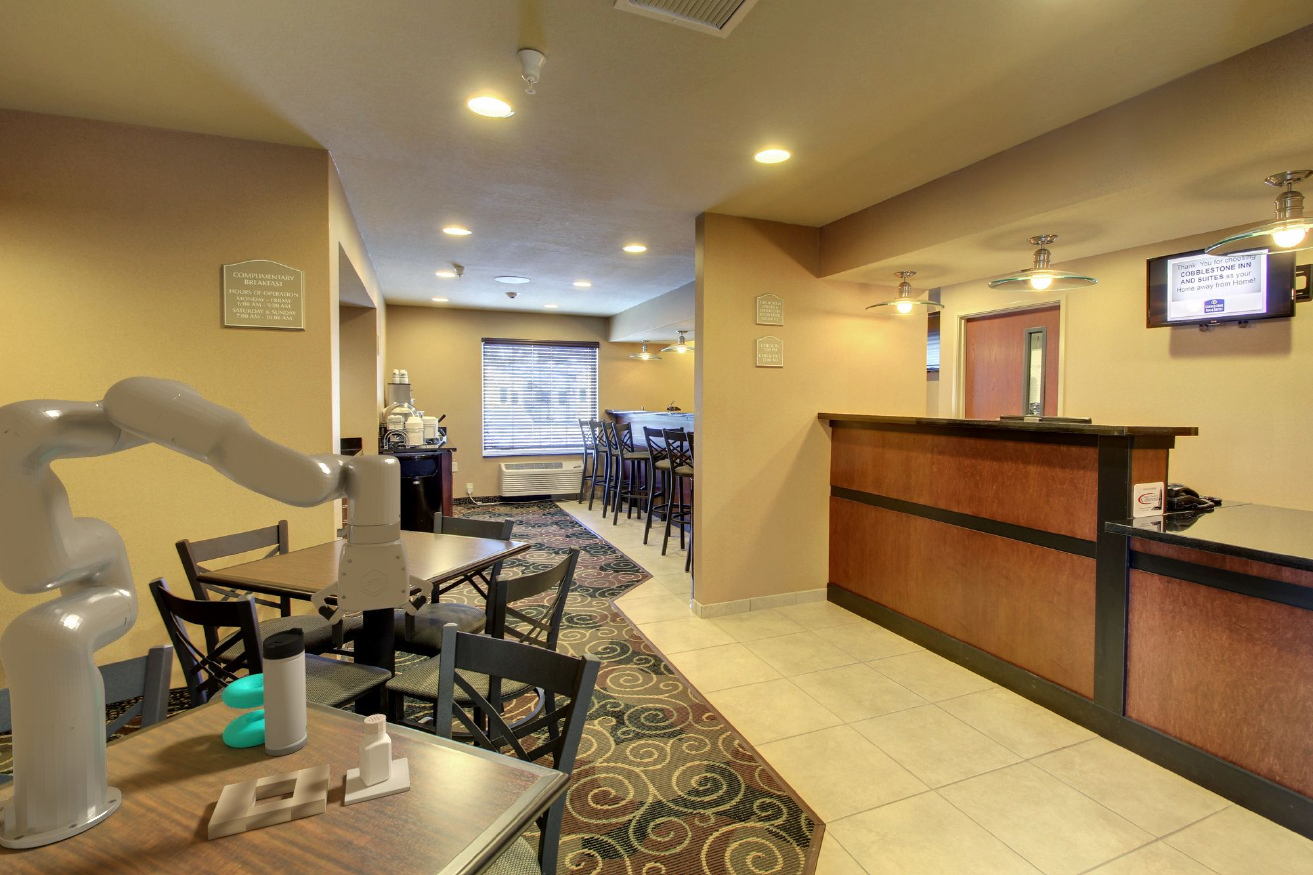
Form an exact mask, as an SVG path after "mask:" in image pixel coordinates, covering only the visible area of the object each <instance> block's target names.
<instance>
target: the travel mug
mask: <svg viewBox="0 0 1313 875" xmlns="http://www.w3.org/2000/svg"><path fill="white" fill-rule="evenodd" d="M305 650H306V649H305V632H304V631H303V628H302V627H292V628H290V629H287V630H281V631H278V632H275V633H273V634H270V635H269V636H267V637H266V638H264V639H263V641H262V673H263V688H264V705H263V709H264V723H265V743H264V749H265V750H264V751H265V753H266V754H267V755H269V756H272V757H273V756H274V757H278V756H279V757H280V756H286V755H290V754H293V753H295V752H297V751H299V750H301V749H302V748H303V747H305V746H306V744H307V742H308V730H307V729H308V728H307V727H308V725H307V724H308V723H307V722H308V721H307V720H308V719H307V718H308V717H307V691H306V690H307V688H306V687H307V686H306V684H307V682H306V681H307V680H306V654H305V652H306V651H305Z"/></svg>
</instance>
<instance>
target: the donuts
mask: <svg viewBox="0 0 1313 875" xmlns="http://www.w3.org/2000/svg"><path fill="white" fill-rule="evenodd" d="M221 700H222V702H223V704H224V705H225V706H227V707H229V708H232V709H236V710H237V709H239V710H248V709H254V708H255V709H256V708H259V707H262V706H263V707H264V688H263V672H262V673H256V674H251V675H249V676H245V677H242V678H239V679H236V680H234V681H233V682H231V683H230V684H228V685H227V686H226V687H225V688H224V689H223V691H222V693H221ZM222 741H223V742H224V743H225V744H226V745H227V746H229V747H232V748H252V747H256V746H259V745H263V744H265V723H264V708H262V709H257V710H252V711H249V712H246V713H244V714H241V715H240V716H238V717H236V718H234V719H233V720H232V721H230V722H229V723H228V724H227V725H226V727H225V728H224V730H223V731H222Z"/></svg>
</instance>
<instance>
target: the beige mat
mask: <svg viewBox="0 0 1313 875" xmlns="http://www.w3.org/2000/svg"><path fill="white" fill-rule="evenodd" d="M408 791H411V782H410V769H409V760H408V757H403V758H397V759H393V760H392V775H391V778H389V779H387V780H384V781H381V782H379V783H376V784H373V785H370V786H366V785H365V783H364V782H363V780H362V779H361V777H360V768H359V767H356V768H351V769H347V770H346V782H345V793H344V794H345V795H344V806H348V805H353V804H357V803H361V802H365V801H369V800H374V799H379V798H382V797H387V796H391V795H395V794H399V793H403V792H408Z"/></svg>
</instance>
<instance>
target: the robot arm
mask: <svg viewBox="0 0 1313 875" xmlns="http://www.w3.org/2000/svg"><path fill="white" fill-rule="evenodd" d="M152 443H153V444H155V445H159V446H161V447H163V448H165V449H168V450H171V451H173V452H175V453H179V454H180V455H184V456H187V457H189V458H191V459H194V460H196V461H199V462H200V463H204V464H206V465H207V466H210V467H211V468H213V469H214V470H215V471H216V472H217V473H220V475H222V476H224V477H225V478H226V479H228V480H230V481H232V482H234V483H235V484H236V485H239V486H241V487H242V488H245V489H247V490H250V491H252V492H254V493H257V494H259V495H262V496H265V497H267V498H269V499H272V500H275V501H277V502H280V503H282V504H285V505H288V506H292V507H296V508H302V509H303V508H305V509H307V508H315V507H318V506H321V505H323V504H326V503H329V502H333V501H336V500H340V499H347V504H346V505H347V510H346V512H347V515H346V516H347V520H346V523H347V525H345V526H344V527H341V528H336V538H342V539H345V540H347V541H346V543H343V544H342V545H341V549H340V553H339V560H338V569H337V570H338V571H337V580H336V581H335V582H333V583H330V584H329V585H327V586H325V587H323V588H322V589H320V590H317V591H316V592H315V593H313V594H312V595H311V596H310V601H311V603H312V604H313V605H314V606H313V607H315V609H316V610H317V612H318V614H319V615H321V616H322V617H323V618H324V619H326V620H327V621H328V622H329V623H330V625H331V644H336V651H341V650H342V649H343V646H344V619H343V618H342V617H344V615H345V614H346V613H347V612H348V613H352V612H353V613H354V612H364V611H374V610H382V609H390V608H397V607H402V609H404V610H405V612H404V640H405V641H406V642H410V641H411V634H415V632H416V629H415V626H416V624H415V621H416V617H415V616H416V614H417V612H418V611H419V610H420V609H421V608H422V607H423V606H424V605H425V603H427V600H428V598H429V597H430V595H431V592H432V591H433V589H434V584H433V583H432V582H430V581H427V580H425V579H422V578H419V577H417V576H415V575H412V574H410V566H409V565H410V563H409V554H408V549H407V548H408V547H407V543H406V541H405V540H404V539H401V464H400V461H399V458H397V457H396V456H394V455H389V454H365V455H364V454H362V455H357V456H356V455H355V456H354V455H345V454H344V455H343V454H338V453H325V452H324V453H315V454H305V453H303V452H300V451H297V450H295V449H293V448H290V447H288V446H285V445H283V444H281V443H278V442H276V441H274V440H271V439H269V438H267V437H265V436H263V435H262V434H260V433H259V432H257V431H256V430H254V429H253V428H252V426H251V425H250V424H249V421H248V419H247V417H245V416H244V415H243V414H241V413H239V412H237V411H234V410H232V409H230V408H227V407H224V405H223V406H222V405H220V404H217V403H215V402H214V401H210V400H208V399H205V398H203V396H202V394H201V393H200V392H199V391H198V390H197V389H196V388H194V387H193V386H191V385H189V384H187V383H185V382H183V381H180V380H176V379H168V378H162V377H161V378H159V377H152V376H142V375H141V376H131V377H127V378H124V379H121V380H119V381H117V382H115V383H114V384H112V385H111V386H110V387H109V388H108V389H107V391H106V392H105V394H104V396H103V399H99V400H95V401H83V400H82V401H81V400H67V399H65V400H64V399H49V398H47V399H46V398H44V399H43V398H42V399H41V398H40V399H39V398H38V399H37V398H36V399H27V400H19V401H16V402H11V403H7V404H4V405H1V406H0V582H1V584H2V585H3V587H5V588H6V589H7V590H9V591H10V592H12V593H15V594H19V595H37V594H38V595H39V594H43V593H46V592H50V591H54V590H57V589H59V592H60V594H61V595H60V596H58V597H55V598H53V599H50V600H46V601H44V602H42V603H39V604H37V605H35V606H32V607H31V608H29V609H27V610H25V611H23V612H21V613H20V614H19V615H18V616H16V617H15V618H14V619H13V620H12V621H11V622H10V623H9V624H8V625H7V626H6V628H5V629H4V630H3V632H2V634H1V636H0V660H1V664H2V667H3V671H4V675H5V676H6V680H7V685H8V691H9V700H10V720H11V721H10V722H11V723H10V724H11V741H12V748H11V749H12V778H13V780H12V781H13V782H12V783H13V795H11V796H10V797H9V798H8V799H5V800H0V823H1V824H2V825H1V827H0V844H1V845H2V846H1V845H0V846H1V847H4V848H7V849H15V850H16V849H28V848H35V847H37V848H38V847H41V846H44V845H45V846H46V845H49V844H53V843H57V842H59V841H62V840H66V839H68V838H71V837H73V836H76V835H78V834H81V833H83V832H85V831H87V830H88V829H90V828H91V829H92V827H94V826H96V825H98V824H99V823H101V822H103V821H104V820H106V819H107V818H108V817H110V816H111V815H112V814H113V813H114V812H116V811H117V809H118V808H120V805H121V804H122V792H121V790H120V789H119V788H118V787H115V786H111V785H108V770H107V769H108V766H107V732H106V731H107V730H106V728H107V727H106V726H107V723H106V720H107V719H106V693H105V684H104V683H105V682H104V678H103V675H102V673H101V671H100V669H99V667H98V665H97V664H96V662H95V658H94V654H95V653H96V652H99V650H102V649H103V648H105V647H107V646H109V645H110V644H111V645H112V643H115V642H116V641H118V640H119V639H121V638H122V637H124V636H125V635H127V633H129V632H130V630H132V628H133V627H134V625H135V624H136V622H137V619H138V617H139V616H138V615H139V600H138V594H137V590H136V586H135V582H134V578H133V573H132V568H131V564H130V560H129V555H128V551H127V547H126V544H125V542H124V540H123V537H122V535H121V534H120V533H119V531H118V530H117V529H116V528H115V527H114V526H113V525H111V523H108V522H106V521H105V520H103V519H100V518H98V517H93V516H92V517H89V516H77V517H76V516H75V517H74V515H73V511H72V508H71V504H70V500H69V494H68V491H67V489H66V487H65V485H64V483H63V482H62V480H61V478H60V477H59V476H58V475H57V474H56V473H55V471H54V470H53V469H52V467H51V463H52V462H54V461H57V460H62V459H63V460H64V459H65V460H68V459H81V458H83V459H85V458H95V457H101V456H107V455H112V454H116V453H120V452H123V451H126V450H131V449H133V448H136V447H141V446H144V445H148V444H152ZM411 586H413V587H415V588H419V589H421V591H420V593H419V595H418V596H417V597H416V598H415V599H414V600H413V601H412V600H411V598H410V597H411V596H410V595H411V594H410V592H411V589H410V587H411ZM335 593H336V597H337V598H336V601H337V602H336V603H337V606H336V608H334V609H333V608H332V607H331V606H329V605H328V604H327V603H326V601H325V599H326V598H328V597H330V596H331V595H333V594H335Z"/></svg>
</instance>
